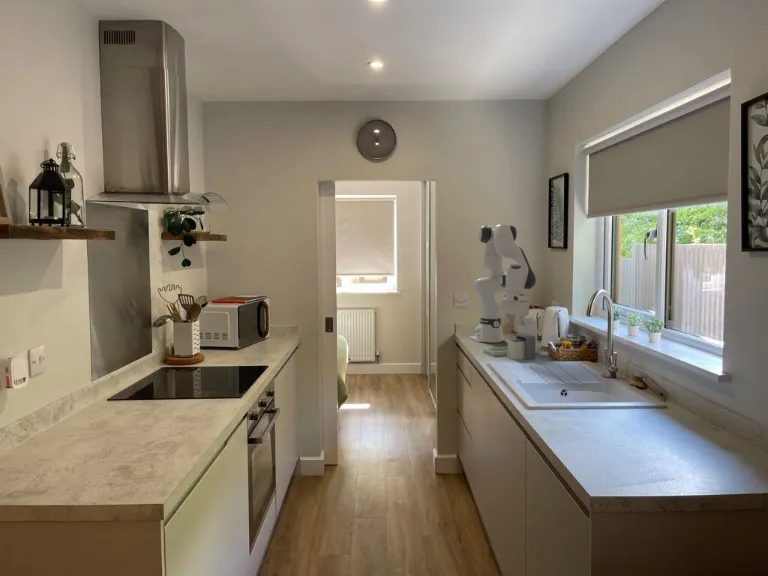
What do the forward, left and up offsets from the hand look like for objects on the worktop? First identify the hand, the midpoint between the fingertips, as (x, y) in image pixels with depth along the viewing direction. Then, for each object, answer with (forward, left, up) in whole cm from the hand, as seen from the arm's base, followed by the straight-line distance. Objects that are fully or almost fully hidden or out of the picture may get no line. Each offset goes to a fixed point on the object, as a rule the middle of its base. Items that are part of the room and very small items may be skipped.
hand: (514, 322), depth 285 cm
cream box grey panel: (0, +3, -19) cm, 19 cm away
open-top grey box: (0, +7, -19) cm, 20 cm away
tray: (-13, +1, -19) cm, 23 cm away
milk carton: (-10, +16, -19) cm, 27 cm away
